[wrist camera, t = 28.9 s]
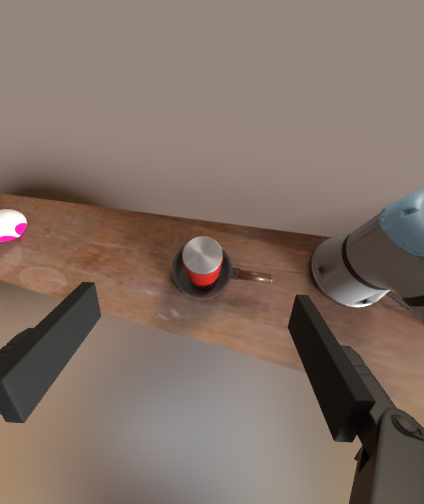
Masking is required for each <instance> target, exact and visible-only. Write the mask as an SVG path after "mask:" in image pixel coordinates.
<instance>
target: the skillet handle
mask: <svg viewBox="0 0 424 504" xmlns="http://www.w3.org/2000/svg"><path fill="white" fill-rule="evenodd" d="M230 278H231V279H242V280H249V281H256V282H263V283H271V282H272V281H273V276H272V275H271V274H266V273H259V272H252V271H245V270H239V269H238V268H232V272H231V277H230Z"/></svg>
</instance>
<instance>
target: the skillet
mask: <svg viewBox="0 0 424 504" xmlns="http://www.w3.org/2000/svg"><path fill="white" fill-rule="evenodd" d="M184 247H185V246H184ZM184 247H183V248H182V249H181V250H180V251H179V252H178V253H177V254H176V256H175V258H174V260H173V265H172V274H173V279H174V281H175V283H176V284H177V286H178V288H179V290H180V291H181V292H182V293H183V294H184V295H185V296H186V297H188V298H190V299H192V300H195V301H209V300H212V299H214V298H216V297H218V296H219V295H220V294H221V293H222V292H223V291H224V290H225V288H226V287H227V285H228V282H229V280H230V277H231V272H232V265H231V261H230V258H229V256H228V255H227V253H226V252H225V250H224V249H222V248H221V249H222V254H223V260H222V264H221V269H220V273H219V277H218V280H217V281H216V283H215V284H214V285H213V286H211V287H209V288H205V289H201V288H197V287H195V286H194V285H192V284H191V282H190V281H189V279H188V277H187V273H186V270H185V267H184V264H183V260H182V253H183V249H184Z"/></svg>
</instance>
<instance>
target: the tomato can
mask: <svg viewBox="0 0 424 504" xmlns="http://www.w3.org/2000/svg"><path fill="white" fill-rule="evenodd" d="M182 260H183V264H184V267H185V270H186V273H187V277H188V279H189V281H190V282H191V284H192V285H194V286H195V287H197V288H201V289H205V288H209V287H211V286H213V285H214V284H215V283H216V281H217V280H218V277H219V273H220V269H221V264H222V260H223V254H222V249H221V247H220V245H219V244H218V243H217V242H216V241H215V240H213V239H212V238H209V237H204V236H202V237H196V238H194V239H192V240H190V241H189V242H188V243H187V244H186V245H185V247H184V249H183V253H182Z"/></svg>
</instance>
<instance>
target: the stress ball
mask: <svg viewBox="0 0 424 504" xmlns="http://www.w3.org/2000/svg"><path fill="white" fill-rule="evenodd" d="M26 226H27V221H26V218H25V217H24V215H23V214H21V213H20V212H18V211H15V210H11V209H4V210H0V242H7V241H11V240H14V239H16V238H18V237H19V236H20V237H21V238H22V239H23V237H22V236H21V235H22V234H23V232H24V231H25V229H26ZM23 240H24V239H23ZM24 241H25V240H24ZM25 242H26V241H25Z"/></svg>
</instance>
